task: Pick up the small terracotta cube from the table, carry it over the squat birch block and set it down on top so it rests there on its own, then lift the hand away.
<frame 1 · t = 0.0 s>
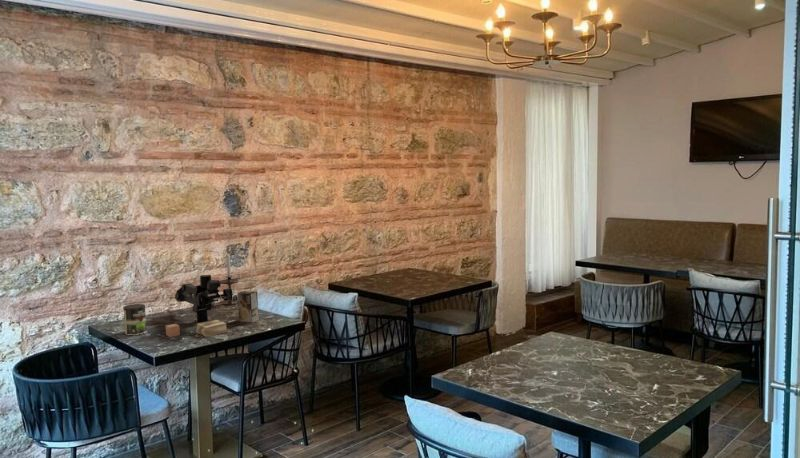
hand: (222, 299, 298), 17 cm above the table, tool horizontal, fingers open, 9 cm apart
coffee can: (136, 333, 298), on the table
base block: (211, 333, 297), on the table
cube: (173, 335, 293), on the table
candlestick: (230, 303, 360), on the table
coffee box: (248, 321, 319), on the table
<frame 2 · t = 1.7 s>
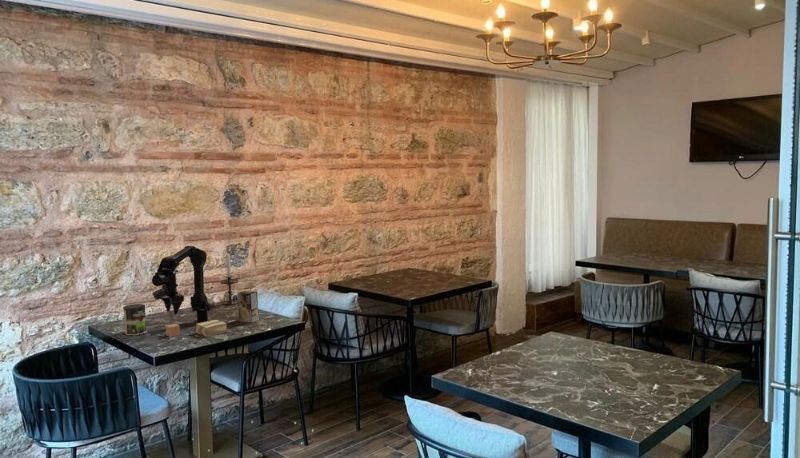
hand: (171, 312, 292), 12 cm above the table, tool pointing down, fingers open, 9 cm apart
nothing on the table moved.
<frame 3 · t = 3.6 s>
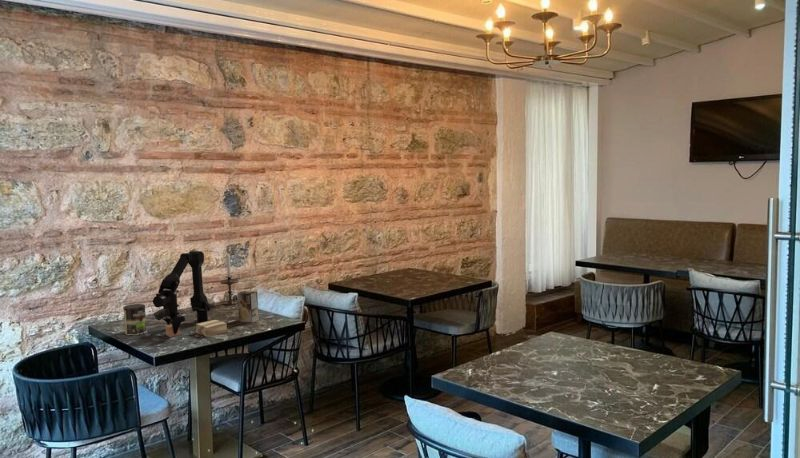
hand: (172, 332, 293), 1 cm above the table, tool pointing down, fingers closed on cube, 5 cm apart
cube: (172, 334, 293), on the table, touching gripper
everything else where it was.
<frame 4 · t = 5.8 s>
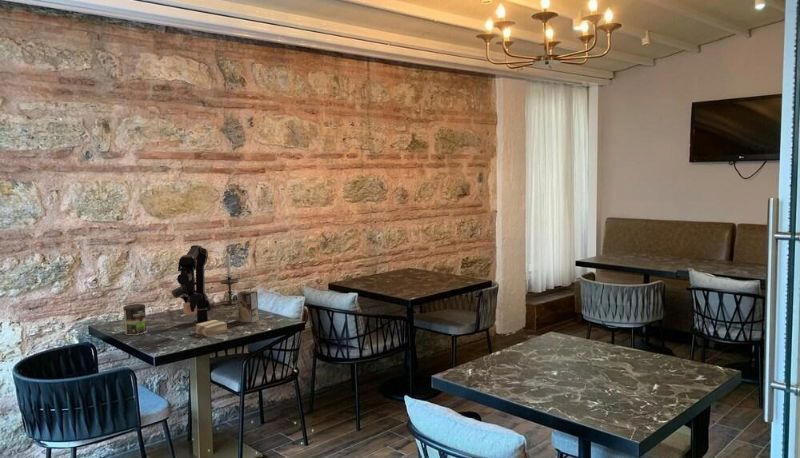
hand: (190, 310, 294), 12 cm above the table, tool pointing down, fingers closed on cube, 5 cm apart
cube: (190, 313, 294), point 11 cm above the table, touching gripper
everything else where it was.
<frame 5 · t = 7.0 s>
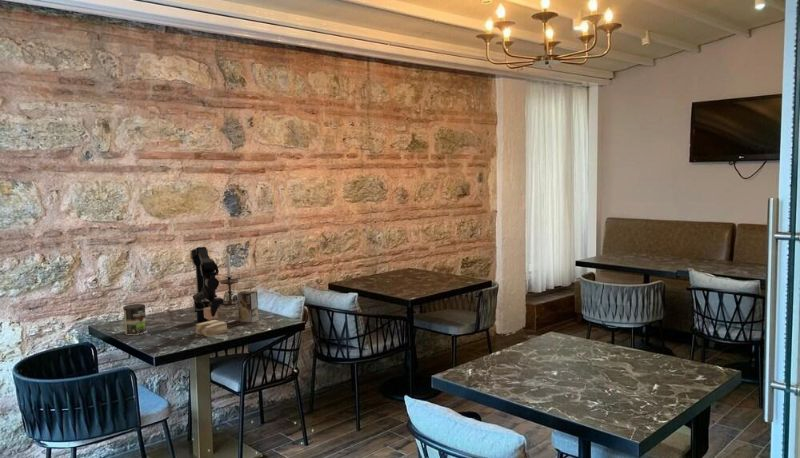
hand: (210, 315, 296), 9 cm above the table, tool pointing down, fingers closed on cube, 5 cm apart
cube: (210, 317, 296), point 8 cm above the table, touching gripper
everything else where it was.
when the fingers open (7 cm above the table, at t = 8.0 s): cube drops 2 cm, resting on base block.
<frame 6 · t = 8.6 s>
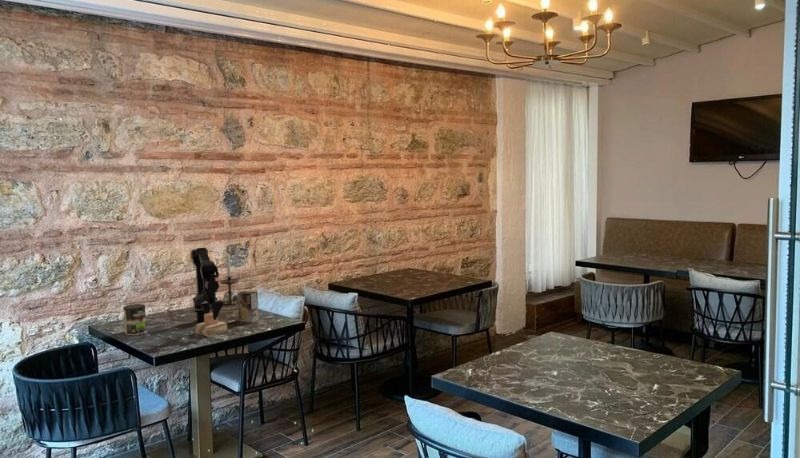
hand: (210, 318, 296), 7 cm above the table, tool pointing down, fingers open, 9 cm apart
base block: (211, 333, 297), on the table, touching cube
cube: (211, 323, 296), point 5 cm above the table, touching base block
everything else where it was.
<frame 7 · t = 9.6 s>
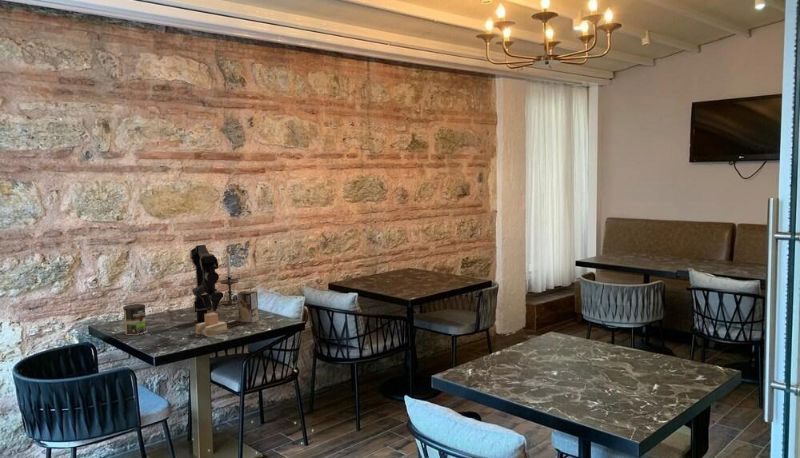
hand: (210, 309, 296), 12 cm above the table, tool pointing down, fingers open, 9 cm apart
nothing on the table moved.
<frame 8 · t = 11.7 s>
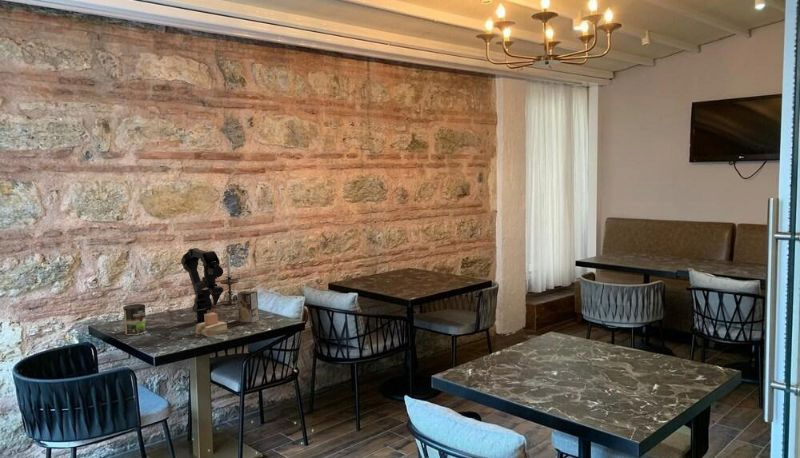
hand: (211, 303, 308), 12 cm above the table, tool pointing down, fingers open, 9 cm apart
nothing on the table moved.
at the end: cube inside the target area on the base block (0.1 cm from its centre), point 5.0 cm above the base block's base; cube tilted 0°; the gripper is holding nothing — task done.
